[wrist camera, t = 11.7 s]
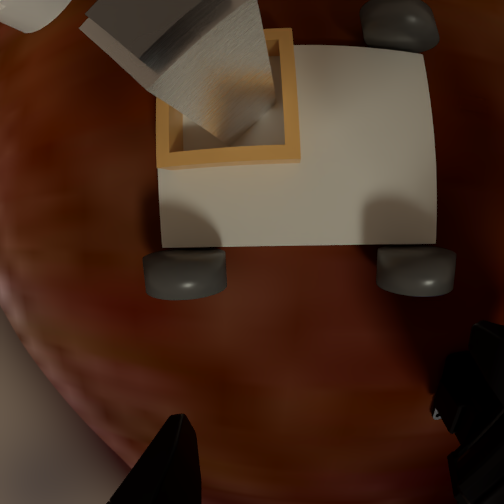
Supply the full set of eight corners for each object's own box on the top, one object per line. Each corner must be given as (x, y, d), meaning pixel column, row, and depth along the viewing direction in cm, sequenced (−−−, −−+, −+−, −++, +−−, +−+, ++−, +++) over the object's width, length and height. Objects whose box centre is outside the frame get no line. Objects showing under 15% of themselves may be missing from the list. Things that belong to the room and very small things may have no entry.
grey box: (276, 103, 18) (252, -20, 6) (230, 146, 19) (135, 82, 7) (232, 64, 18) (162, -65, 6) (187, 106, 19) (66, 20, 6)
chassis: (418, 34, 17) (443, 4, 12) (433, 272, 20) (467, 293, 15) (158, 41, 19) (129, 12, 14) (164, 276, 22) (132, 298, 17)
